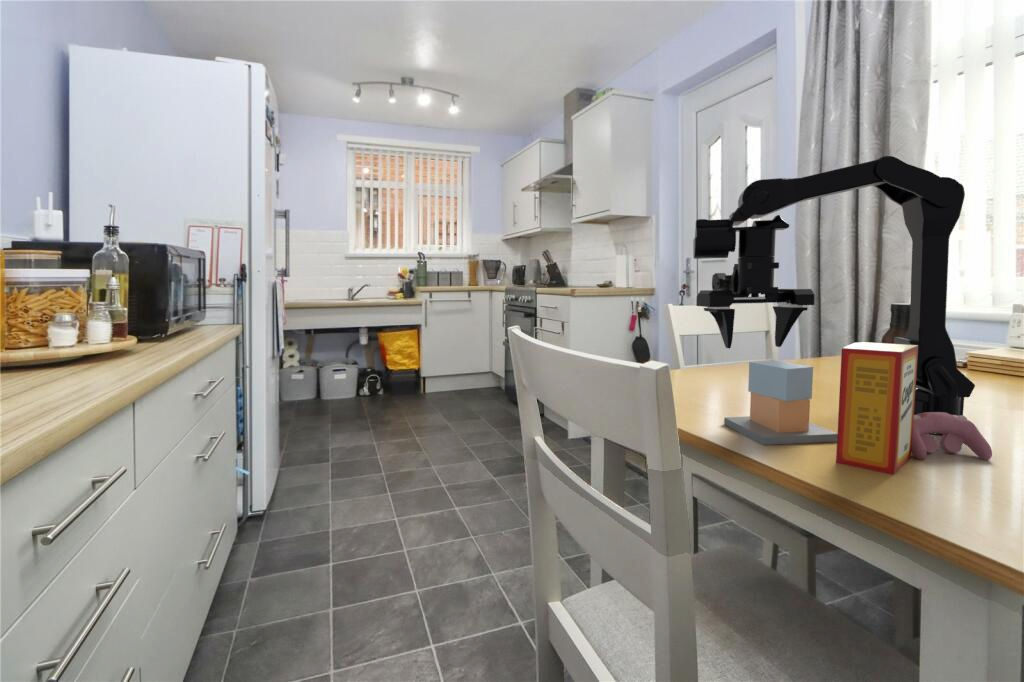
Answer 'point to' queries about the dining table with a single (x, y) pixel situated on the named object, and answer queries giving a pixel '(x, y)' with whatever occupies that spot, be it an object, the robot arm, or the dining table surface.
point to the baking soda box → (876, 405)
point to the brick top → (780, 380)
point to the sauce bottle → (897, 322)
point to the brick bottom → (780, 413)
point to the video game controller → (947, 435)
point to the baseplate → (773, 437)
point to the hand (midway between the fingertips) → (753, 347)
